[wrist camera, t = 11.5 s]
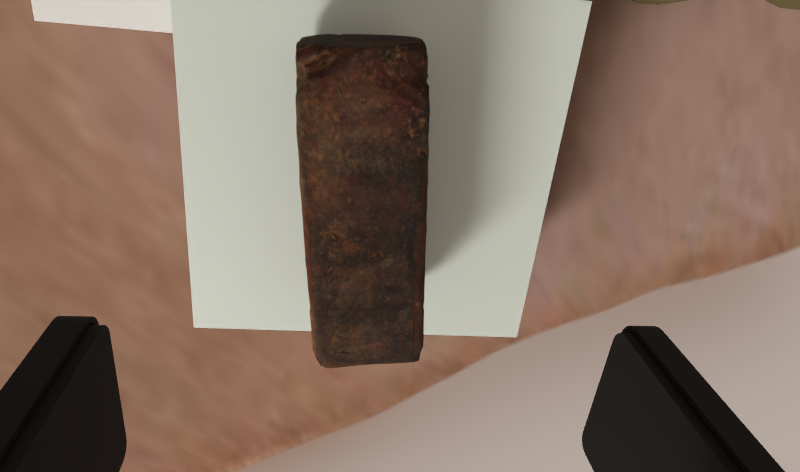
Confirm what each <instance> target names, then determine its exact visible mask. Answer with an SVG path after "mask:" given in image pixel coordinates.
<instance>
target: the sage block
mask: <svg viewBox="0 0 800 472" xmlns="http://www.w3.org/2000/svg"><path fill="white" fill-rule="evenodd" d="M170 1H171V15H172V29H173V43H174V57H175V71H176V85H177V99H178V113H179V127H180V141H181V155H182V169H183V183H184V197H185V211H186V225H187V239H188V253H189V267H190V281H191V295H192V309H193V323H194V327H195V328H228V329H261V330H294V331H311V321H310V312H309V311H310V302H309V293H308V282H307V269H306V263H305V247H304V234H303V217H302V205H301V192H300V184H299V156H298V145H297V133H296V98H295V97H296V91H297V89H296V79H297V73H296V59H295V57H296V44H297V42H298V41H300V39H301V38H302V37H307V36H313V35H319V34H337V35H342V34H373V35H398V36H412V37H417V38H420V39H422V40H423V41H424V42H425V45H426V47H427V56H428V78H427V84H428V85H429V102H430V118H429V137H428V141H429V159H428V188H427V219H426V221H427V234H426V254H425V286H424V307H423V308H424V334H426V335H459V336H492V337H517V334H518V329H519V325H520V320H521V316H522V312H523V307H524V303H525V298H526V294H527V289H528V285H529V280H530V276H531V271H532V267H533V263H534V258H535V254H536V249H537V245H538V240H539V236H540V231H541V227H542V223H543V218H544V214H545V209H546V205H547V200H548V196H549V191H550V187H551V182H552V178H553V174H554V169H555V165H556V160H557V156H558V151H559V147H560V142H561V138H562V134H563V129H564V125H565V120H566V116H567V111H568V107H569V102H570V98H571V93H572V89H573V85H574V80H575V76H576V71H577V67H578V62H579V58H580V53H581V49H582V45H583V40H584V36H585V31H586V27H587V22H588V18H589V13H590V9H591V4H592V1H587V0H170Z"/></svg>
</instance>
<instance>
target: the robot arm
mask: <svg viewBox="0 0 800 472" xmlns="http://www.w3.org/2000/svg"><path fill="white" fill-rule="evenodd" d="M126 443H127V441H126V433H125V426H124V420H123V414H122V408H121V401H120V395H119V389H118V382H117V376H116V370H115V363H114V357H113V351H112V344H111V338H110V332H109V329H108V327H107V326H105V325H99V324H98V321H97V319H96V318H95V317H84V316H58V317H56V318H55V319H54V320H53V321H52V322H51V323H50V325H49V326H48V327H47V329H46V330H45V331H44V333H43V334H42V335H41V337H40V338H39V339H38V341H37V342H36V343H35V345H34V346H33V347H32V349H31V350H30V351H29V353H28V354H27V355H26V357H25V358H24V360H23V361H22V362H21V364H20V365H19V366H18V368H17V369H16V370H15V372H14V373H13V374H12V376H11V377H10V378H9V380H8V381H7V382H6V384H5V385H4V386H3V388H2V389H1V390H0V472H119V470H120V468H121V466H122V463H123V460H124V457H125V453H126ZM582 443H583V449H584V452H585V454H586V456H587V458H588V460H589V462H590V464H591V466H592V468H593V470H594V472H785V471H784V470H783V469H782V468H781V467H780V466H779V464H778V463H777V462H776V461H775V460H774V459H773V458H772V457H771V455H770V454H769V453H768V452H767V451H766V449H765V448H764V447H763V446H762V445H761V444H760V443H759V442H758V440H757V439H756V438H755V437H754V436H753V434H752V433H751V432H750V431H749V430H748V429H747V428H746V426H745V425H744V424H743V423H742V422H741V421H740V420H739V418H738V417H737V416H736V415H735V414H734V413H733V411H732V410H731V409H730V408H729V407H728V406H727V404H726V403H725V402H724V401H723V400H722V399H721V398H720V396H719V395H718V394H717V393H716V392H715V391H714V390H713V388H712V387H711V386H710V385H709V384H708V383H707V382H706V380H705V379H704V378H703V377H702V376H701V375H700V374H699V372H698V371H697V370H696V369H695V368H694V366H693V365H692V364H691V363H690V362H689V361H688V360H687V358H686V357H685V356H684V355H683V354H682V353H681V351H680V350H679V349H678V348H677V347H676V346H675V345H674V343H673V342H672V341H671V340H670V339H669V338H668V336H667V335H666V334H665V333H664V332H663V331H662V330H661V329H660V328H658V327H655V326H627V327H625V328H624V329H623V331H622V333H619V334H617V335H616V336H615V337H614V340H613V343H612V345H611V348H610V351H609V355H608V358H607V361H606V364H605V367H604V370H603V373H602V376H601V379H600V382H599V385H598V388H597V391H596V394H595V397H594V401H593V403H592V406H591V409H590V413H589V416H588V419H587V422H586V425H585V428H584V431H583V435H582Z"/></svg>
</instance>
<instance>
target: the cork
mask: <svg viewBox="0 0 800 472" xmlns="http://www.w3.org/2000/svg"><path fill="white" fill-rule="evenodd" d="M633 1H635V2H637V3H644V4H665V3H672V2H679V1H687V0H633ZM766 1H768V2H770V3H772V4H774V5H776V6H777V7H779V8H787V9H796V10H800V0H766Z"/></svg>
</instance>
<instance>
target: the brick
mask: <svg viewBox="0 0 800 472" xmlns="http://www.w3.org/2000/svg"><path fill="white" fill-rule="evenodd" d="M295 59H296V73H297V79H296V89H297V91H296V97H295V98H296V133H297V145H298V156H299V184H300V192H301V205H302V217H303V234H304V247H305V263H306V269H307V282H308V293H309V302H310V311H309V312H310V321H311V334H312V346H313V351H314V353H315V356H316V359H317V360H318V362H319V364H320V365H321V366H323V367H325V368H337V367H347V366H356V365H368V364H390V363H407V362H415V361H418V360H419V357H420V353H421V350H422V347H423V338H424V308H423V307H424V286H425V254H426V234H427V221H426V219H427V188H428V159H429V141H428V137H429V118H430V102H429V85H428V84H427V78H428V56H427V47H426V45H425V42H424V41H423V40H422V39H420V38H417V37H412V36H398V35H373V34H342V35H337V34H319V35H313V36H307V37H302V38H301V39H300V41H298V42H297V44H296V57H295Z"/></svg>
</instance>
